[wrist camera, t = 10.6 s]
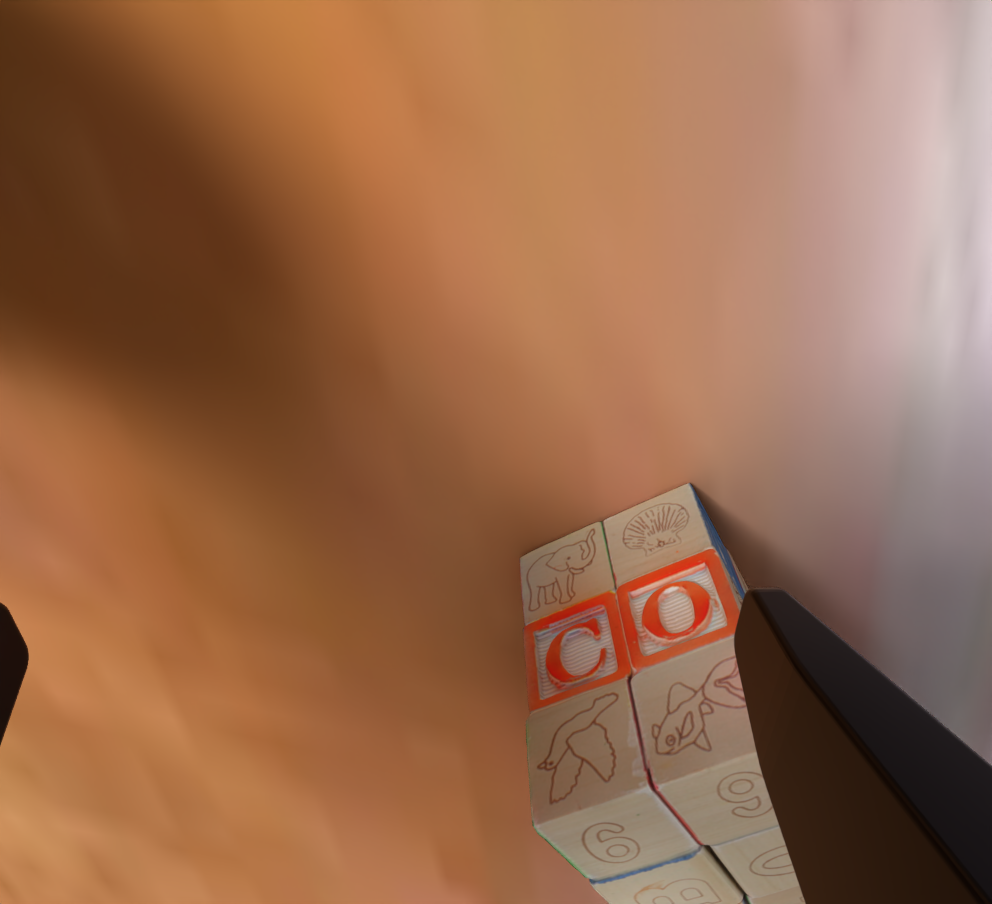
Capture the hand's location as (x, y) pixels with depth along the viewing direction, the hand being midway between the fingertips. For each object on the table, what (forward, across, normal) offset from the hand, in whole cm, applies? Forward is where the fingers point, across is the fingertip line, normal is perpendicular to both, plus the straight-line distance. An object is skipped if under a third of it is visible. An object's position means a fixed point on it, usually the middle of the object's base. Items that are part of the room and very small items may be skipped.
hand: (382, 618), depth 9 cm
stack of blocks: (+12, -10, +18) cm, 24 cm away
